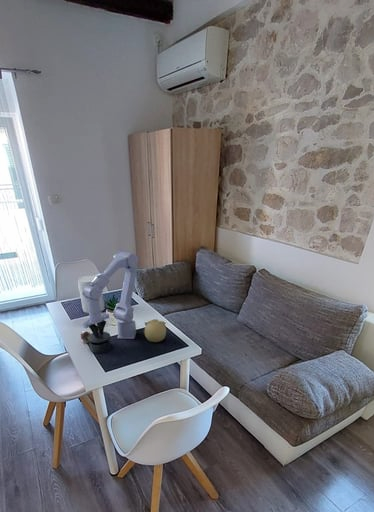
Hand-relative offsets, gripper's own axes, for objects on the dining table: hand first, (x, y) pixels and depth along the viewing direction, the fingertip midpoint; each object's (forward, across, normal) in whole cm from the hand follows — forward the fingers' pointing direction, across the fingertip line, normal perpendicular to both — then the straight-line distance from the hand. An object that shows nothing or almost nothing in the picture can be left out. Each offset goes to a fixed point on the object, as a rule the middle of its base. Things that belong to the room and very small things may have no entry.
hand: (98, 335), depth 155 cm
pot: (+7, 0, 0) cm, 7 cm away
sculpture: (+8, -24, +16) cm, 30 cm away
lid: (+1, 0, 0) cm, 1 cm away
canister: (+8, -30, -41) cm, 51 cm away
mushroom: (+7, 0, -11) cm, 13 cm away
